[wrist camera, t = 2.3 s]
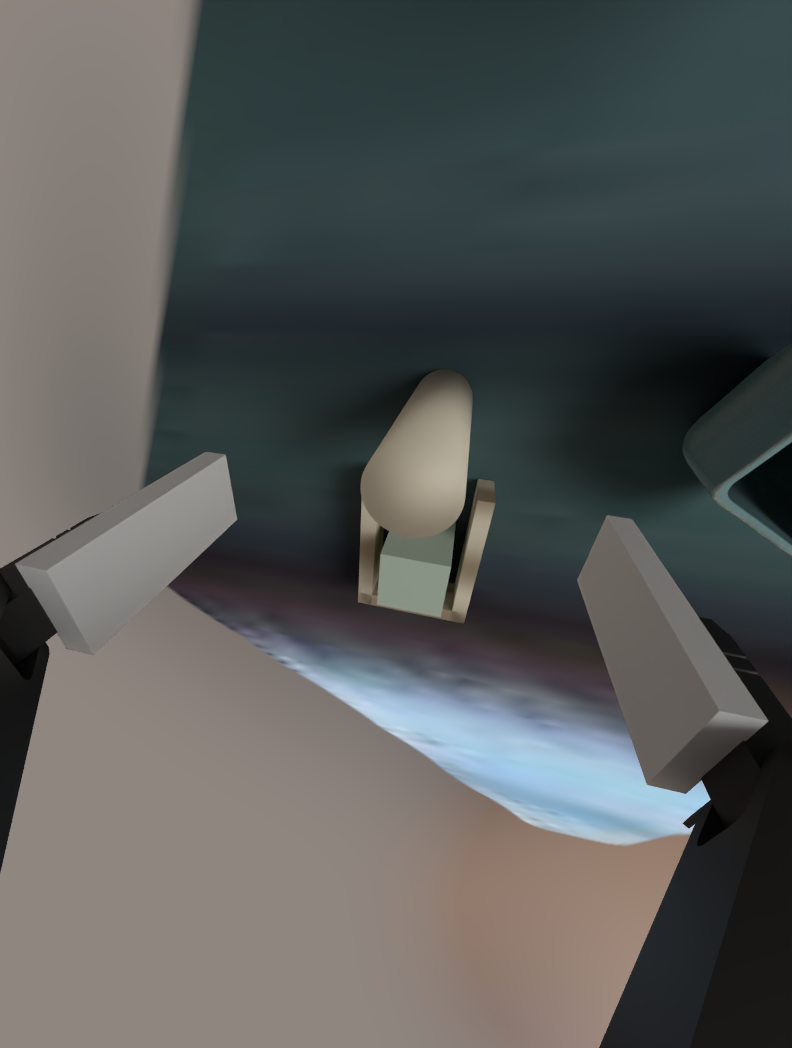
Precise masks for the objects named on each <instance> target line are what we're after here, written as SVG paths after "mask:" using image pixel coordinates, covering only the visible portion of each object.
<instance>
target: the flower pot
mask: <svg viewBox="0 0 792 1048" xmlns="http://www.w3.org/2000/svg"><path fill="white" fill-rule="evenodd" d="M683 454H684V457H685V459H686V461H687V463H688V465H689V466H690V468H691V469H692V470H693V472H694V473H695V475H696V476H697V477H698V479H699V480H700V482H701V483H702V484H703V486H704V487H705V488H706V490H707V491H708V492H709V494H710V495H711V497H712V498H713V499H714V501H715V502H716V503H718V504H719V505H720V506H721V507H723V508H725V509H726V510H728V511H729V512H730V513H732V514H733V515H735V516H736V517H737V518H739V519H740V520H741V521H743V522H745V523H746V524H747V525H748V526H750V527H751V528H753V529H754V530H756V531H757V532H758V533H760V534H761V535H762V536H764V537H765V538H767V539H768V540H769V541H771V542H772V543H773V544H775V545H776V546H778V547H779V548H780V549H782V550H783V551H784V552H786V553H787V554H788V555H790V556H791V557H792V344H790V345H788V346H786V347H785V348H783V349H782V350H780V351H779V352H777V353H776V354H775V355H773V356H772V357H770V358H769V359H767V360H766V361H765V362H764V363H762V364H761V365H760V366H759V367H758V368H757V369H756V370H754V371H753V372H752V373H751V374H750V375H749V376H748V377H746V378H745V379H744V380H743V381H742V382H741V383H740V384H739V385H737V386H736V387H735V388H734V389H733V390H732V391H731V392H729V393H728V394H727V395H726V396H725V397H724V398H722V399H721V400H720V401H719V402H718V403H717V404H715V405H714V406H713V407H712V408H711V409H710V410H708V411H707V412H706V413H705V414H704V415H703V416H701V417H700V418H699V419H698V420H697V421H696V422H695V423H694V424H693V425H692V427H691V428H690V429H689V431H688V432H687V434H686V436H685V438H684V441H683Z"/></svg>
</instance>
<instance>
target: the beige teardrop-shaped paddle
mask: <svg viewBox="0 0 792 1048" xmlns="http://www.w3.org/2000/svg"><path fill="white" fill-rule="evenodd" d="M472 404H473V394H472V390H471V387H470V385H469V383H468V381H467V380H466V379H465V378H464V377H463V376H462V375H461V374H459V373H457V372H455V371H452V370H447V369H442V370H436V371H433V372H431V373H429V374H428V375H426V376H425V377H424V378H423V379H422V380H421V382H420V383H419V385H418V386H417V388H416V389H415V391H414V392H413V394H412V395H411V397H410V399H409V400H408V402H407V403H406V405H405V406H404V408H403V409H402V411H401V413H400V414H399V416H398V417H397V419H396V420H395V422H394V423H393V425H392V427H391V428H390V430H389V431H388V433H387V434H386V436H385V437H384V439H383V441H382V442H381V444H380V445H379V447H378V448H377V450H376V452H375V453H374V455H373V456H372V458H371V459H370V461H369V462H368V464H367V466H366V467H365V469H364V472H363V474H362V478H361V485H360V488H361V496H362V500H363V503H364V505H365V508H366V510H367V511H368V513H369V514H370V516H371V517H372V518H373V519H374V520H375V521H376V522H377V523H378V524H379V525H380V526H382V527H383V528H385V529H386V530H388V531H389V533H388V536H387V538H386V541H385V544H384V546H383V549H382V551H381V555H380V569H379V582H378V596H377V605H382V606H387V607H392V608H397V609H402V610H407V611H412V612H417V613H422V614H427V615H432V616H437V617H441V613H442V608H443V604H444V599H445V594H446V589H447V585H448V580H449V575H450V570H451V564H452V555H453V546H454V536H455V527H456V520H457V519H458V517H459V516H460V514H461V512H462V510H463V507H464V503H465V496H466V483H467V470H468V456H469V443H470V430H471V417H472Z"/></svg>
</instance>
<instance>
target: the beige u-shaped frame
mask: <svg viewBox="0 0 792 1048" xmlns="http://www.w3.org/2000/svg"><path fill="white" fill-rule="evenodd" d="M494 507H495V489H494V481H490V480H484V479H478V481H477V486H476V490H475V495H474V499H473V504H472V508H471V513H470V517H469V522H468V526H467V531H466V535H465V539H464V544H463V548H462V553H461V557H460V562H459V566H458V571H457V575H456V580H455V584H454V583H449V582H448V585H447V589H446V594H445V599H444V604H443V608H442V613H441V617H437V616H432V615H427V614H422V613H417V612H412V611H407V610H402V609H397V608H392V607H387V606H382V605H377V596H378V582H379V569H380V555H381V551H382V548H383V535H384V528H383V527H382V526H380V525H379V524H378V523H377V522H376V521H375V520H374V519H373V518H372V517H371V516H370V514H369V513H368V511H367V510H366V508H365V505H364V503H363V500H362V502H361V533H360V563H359V593H358V602H360V603H365V604H370V605H375V606H380V607H385V608H390V609H395V610H400V611H405V612H410V613H414V614H419V615H424V616H429V617H434V618H439V619H444V620H449V621H454V622H459V623H464V621H465V617H466V613H467V609H468V605H469V602H470V598H471V594H472V590H473V586H474V583H475V579H476V575H477V571H478V567H479V564H480V560H481V556H482V552H483V548H484V545H485V541H486V537H487V533H488V530H489V526H490V522H491V518H492V514H493V511H494Z"/></svg>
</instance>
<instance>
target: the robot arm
mask: <svg viewBox="0 0 792 1048" xmlns="http://www.w3.org/2000/svg"><path fill="white" fill-rule="evenodd" d="M236 520H237V516H236V510H235V505H234V499H233V493H232V488H231V482H230V477H229V471H228V465H227V460H226V455H224V454H218V453H211V452H204V453H203V454H201V455H199V456H198V457H196V458H194V459H193V460H191V461H189V462H187V463H186V464H184V465H182V466H181V467H179V468H177V469H175V470H174V471H172V472H170V473H169V474H167V475H165V476H164V477H162V478H160V479H158V480H157V481H155V482H153V483H152V484H150V485H148V486H147V487H145V488H143V489H141V490H140V491H138V492H136V493H135V494H133V495H131V496H130V497H128V498H126V499H125V500H123V501H121V502H119V503H118V504H116V505H114V506H112V507H111V508H109V509H107V510H106V511H104V512H102V513H100V514H97V515H95V516H92V517H89V518H87V519H85V520H83V521H82V522H80V523H78V524H76V525H75V526H73V527H71V529H70V530H66V531H64V532H63V533H61V534H59V535H57V536H56V539H53V538H52V539H50V540H49V541H47V542H45V543H44V544H42V545H40V546H38V547H37V548H35V549H33V550H32V551H30V552H28V553H26V554H25V555H23V556H21V557H19V558H18V559H16V560H14V561H13V562H11V563H9V564H8V565H6V566H4V567H2V568H0V871H1V867H2V863H3V858H4V854H5V850H6V845H7V841H8V836H9V832H10V827H11V823H12V818H13V814H14V809H15V805H16V800H17V796H18V791H19V787H20V782H21V778H22V774H23V769H24V764H25V760H26V756H27V751H28V747H29V742H30V738H31V734H32V729H33V724H34V720H35V716H36V711H37V707H38V702H39V697H40V694H41V689H42V685H43V680H44V676H45V671H46V666H47V662H48V658H49V647H48V646H47V644H46V641H47V640H48V639H50V638H51V637H52V636H53V635H54V634H56V633H57V634H58V636H59V637H60V639H61V640H62V642H63V644H64V645H65V647H66V649H69V650H73V651H78V652H82V653H86V654H91V655H94V654H95V653H96V652H97V651H98V650H100V649H101V648H102V647H103V646H104V645H105V644H106V643H107V642H108V641H109V640H110V639H111V638H112V637H113V636H114V635H115V634H116V633H118V632H119V631H120V630H121V629H122V628H123V627H124V626H125V625H126V624H127V623H128V622H129V621H130V620H131V619H132V618H133V617H134V616H136V614H138V613H139V612H140V611H141V610H142V609H143V608H144V607H145V606H146V605H147V604H148V603H149V602H150V601H151V600H152V599H154V598H155V597H156V596H157V595H158V594H159V593H160V592H161V591H162V590H163V589H164V588H165V587H166V586H167V585H168V584H169V583H170V582H172V581H173V580H174V579H175V578H176V577H177V576H178V575H179V574H180V573H181V572H182V571H183V570H184V569H185V568H186V567H187V566H188V565H190V564H191V563H192V562H193V561H194V560H195V559H196V558H197V557H198V556H199V555H200V554H201V553H202V552H203V551H204V550H205V549H206V548H208V547H209V546H210V545H211V544H212V543H213V542H214V541H215V540H216V539H217V538H218V537H219V536H220V535H221V534H222V533H223V532H224V531H226V530H227V529H228V528H229V527H230V526H231V525H232V524H233V523H234V522H235V521H236ZM577 581H578V584H579V587H580V590H581V593H582V596H583V599H584V602H585V605H586V608H587V611H588V614H589V617H590V619H591V622H592V625H593V628H594V631H595V634H596V637H597V640H598V643H599V646H600V649H601V652H602V655H603V657H604V660H605V663H606V666H607V669H608V672H609V675H610V678H611V681H612V684H613V687H614V690H615V692H616V695H617V698H618V701H619V704H620V707H621V710H622V713H623V716H624V719H625V722H626V725H627V728H628V730H629V733H630V736H631V739H632V742H633V745H634V748H635V751H636V754H637V757H638V760H639V763H640V766H641V768H642V771H643V774H644V777H645V780H646V783H647V785H651V786H655V787H659V788H664V789H668V790H672V791H676V792H681V793H685V794H686V793H687V792H688V791H690V790H691V789H692V788H693V787H694V786H695V785H696V784H697V783H699V782H700V781H701V780H702V781H703V784H704V786H705V788H706V790H707V792H708V795H709V797H710V799H711V800H710V801H709V802H708V803H706V804H705V805H704V806H703V807H701V808H700V809H699V810H698V811H696V812H695V813H694V814H693V815H691V816H690V817H689V818H688V819H687V820H686V821H685V822H684V823H683V824H684V825H685V826H686V827H688V828H690V827H692V826H693V825H694V824H695V826H694V828H693V830H692V833H691V835H690V838H689V840H688V842H687V844H686V847H685V849H684V851H683V854H682V856H681V858H680V861H679V863H678V865H677V868H676V870H675V872H674V875H673V877H672V879H671V882H670V884H669V887H668V889H667V891H666V893H665V896H664V898H663V900H662V903H661V905H660V907H659V910H658V912H657V914H656V917H655V919H654V921H653V924H652V926H651V928H650V931H649V933H648V935H647V938H646V940H645V942H644V945H643V947H642V949H641V951H640V954H639V957H638V959H637V961H636V963H635V966H634V968H633V970H632V972H631V975H630V977H629V980H628V982H627V984H626V987H625V989H624V991H623V994H622V996H621V998H620V1001H619V1003H618V1005H617V1007H616V1010H615V1012H614V1014H613V1017H612V1019H611V1021H610V1024H609V1026H608V1028H607V1031H606V1033H605V1035H604V1038H603V1040H602V1042H601V1045H600V1047H599V1048H792V718H791V717H790V716H789V714H788V713H787V712H786V710H785V709H784V707H783V706H782V705H781V703H780V702H779V701H778V699H777V698H776V697H775V695H774V694H773V692H772V691H771V690H770V688H769V687H768V686H767V684H766V683H765V682H764V680H763V679H762V678H761V676H758V675H757V671H756V669H755V668H754V667H753V665H752V664H751V663H750V661H749V660H746V659H745V657H746V656H745V654H744V653H743V652H742V650H741V649H740V648H739V646H738V645H737V643H736V642H735V641H734V639H733V638H732V637H731V636H730V635H729V634H728V633H726V632H725V631H724V630H723V629H722V628H721V627H719V626H718V625H717V624H716V623H715V622H714V621H712V620H711V619H706V618H701V617H698V616H697V614H696V613H695V611H694V610H693V608H692V607H691V605H690V604H689V602H688V601H687V600H686V598H685V597H684V595H683V594H682V592H681V591H680V589H679V588H678V586H677V585H676V583H675V582H674V580H673V579H672V577H671V576H670V574H669V573H668V571H667V570H666V568H665V567H664V566H663V564H662V563H661V561H660V560H659V558H658V557H657V555H656V554H655V552H654V551H653V549H652V548H651V546H650V545H649V543H648V542H647V540H646V539H645V537H644V536H643V534H642V533H641V532H640V530H639V529H638V527H637V526H636V524H635V523H634V521H633V520H632V519H628V518H621V517H615V516H609V515H607V516H606V519H605V521H604V523H603V525H602V527H601V529H600V532H599V534H598V536H597V538H596V540H595V542H594V545H593V547H592V549H591V551H590V553H589V556H588V558H587V560H586V562H585V564H584V566H583V569H582V571H581V573H580V575H579V577H578V580H577Z"/></svg>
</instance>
